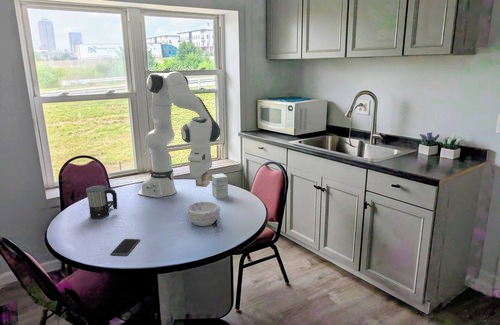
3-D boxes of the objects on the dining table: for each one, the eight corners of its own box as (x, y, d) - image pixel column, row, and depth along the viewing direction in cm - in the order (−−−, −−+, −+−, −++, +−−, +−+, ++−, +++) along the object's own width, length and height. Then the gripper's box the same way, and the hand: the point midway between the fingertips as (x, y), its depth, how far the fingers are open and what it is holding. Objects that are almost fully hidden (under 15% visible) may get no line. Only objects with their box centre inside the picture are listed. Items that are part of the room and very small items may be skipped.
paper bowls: (214, 230, 161) (214, 214, 159) (183, 227, 164) (182, 211, 162) (223, 216, 176) (223, 202, 174) (194, 214, 179) (194, 200, 177)
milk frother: (92, 220, 173) (88, 192, 169) (83, 211, 185) (80, 184, 181) (121, 213, 181) (118, 186, 178) (111, 204, 193) (108, 179, 190)
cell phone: (109, 256, 140) (109, 254, 140) (124, 239, 154) (124, 238, 153) (127, 257, 140) (127, 255, 139) (141, 240, 153) (140, 239, 153)
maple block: (195, 186, 163) (195, 176, 162) (199, 183, 168) (199, 172, 167) (206, 186, 162) (205, 176, 161) (209, 183, 167) (209, 173, 166)
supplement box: (212, 195, 206) (211, 174, 203) (223, 193, 209) (223, 172, 206) (216, 199, 200) (215, 178, 197) (228, 197, 203) (227, 176, 200)
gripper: (202, 147, 172) (203, 175, 175) (186, 158, 152) (188, 188, 156) (214, 148, 170) (215, 175, 174) (200, 158, 151) (201, 189, 155)
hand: (202, 181), depth 165 cm, fingers closed on maple block, 5 cm apart
